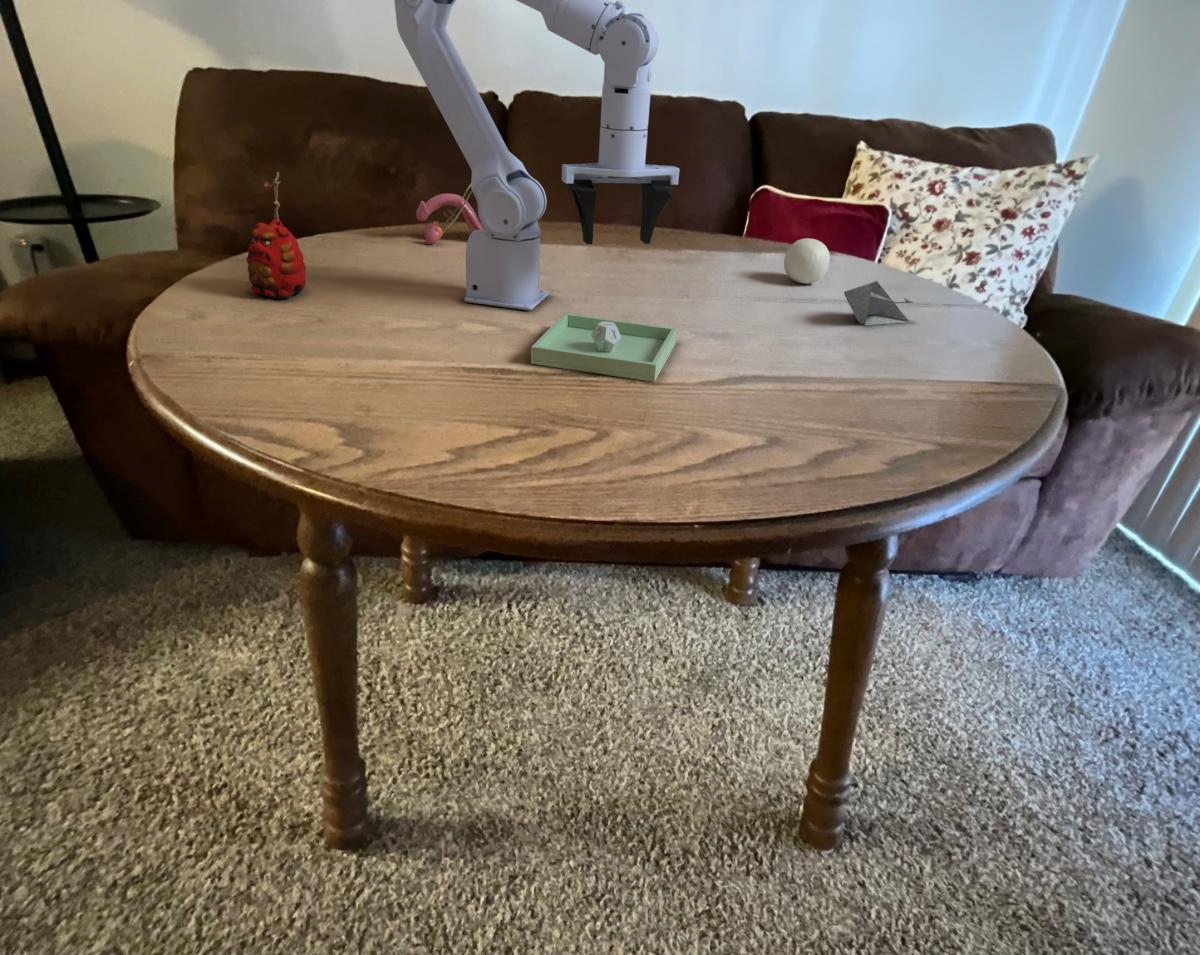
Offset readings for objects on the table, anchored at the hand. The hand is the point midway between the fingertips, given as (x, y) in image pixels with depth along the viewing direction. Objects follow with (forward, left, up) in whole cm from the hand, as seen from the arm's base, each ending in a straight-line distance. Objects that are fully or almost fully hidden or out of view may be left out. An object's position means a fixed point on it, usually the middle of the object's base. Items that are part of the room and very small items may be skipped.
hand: (616, 242), depth 108 cm
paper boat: (+34, +10, -10) cm, 37 cm away
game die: (+3, -15, -9) cm, 18 cm away
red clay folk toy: (-43, -10, -10) cm, 45 cm away
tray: (+3, -15, -9) cm, 18 cm away
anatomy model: (-32, +28, -10) cm, 44 cm away
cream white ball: (+24, +28, -10) cm, 38 cm away
